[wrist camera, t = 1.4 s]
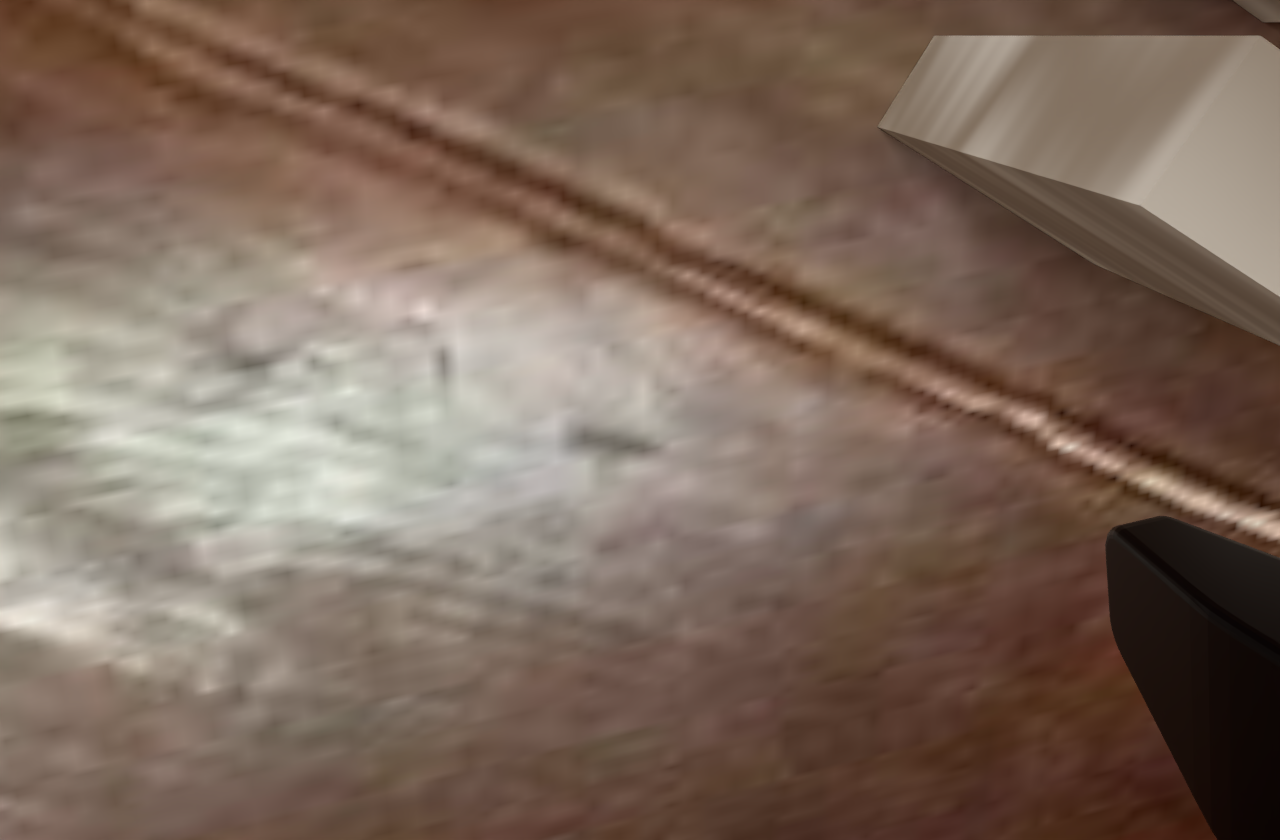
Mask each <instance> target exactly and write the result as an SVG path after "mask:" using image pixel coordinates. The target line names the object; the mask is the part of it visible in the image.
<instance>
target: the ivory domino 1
mask: <svg viewBox="0 0 1280 840" xmlns="http://www.w3.org/2000/svg"><path fill="white" fill-rule="evenodd" d="M878 128H880V129H881V130H883V131H885V132H886V133H888V134H889V135H891V136H893V137H894V138H896V139H897V140H899V141H900V142H902V143H904V144H905V145H907V146H908V147H910V148H911V149H913V150H915V151H916V152H918V153H919V154H921V155H922V156H924V157H926V158H927V159H929V160H930V161H932V162H934V163H935V164H937V165H938V166H940V167H941V168H943V169H945V170H946V171H948V172H949V173H951V174H952V175H954V176H956V177H957V178H959V179H960V180H962V181H964V182H965V183H967V184H968V185H970V186H971V187H973V188H975V189H976V190H978V191H979V192H981V193H982V194H984V195H986V196H987V197H989V198H990V199H992V200H993V201H995V202H997V203H998V204H1000V205H1001V206H1003V207H1005V208H1006V209H1008V210H1009V211H1011V212H1012V213H1014V214H1016V215H1017V216H1019V217H1020V218H1022V219H1023V220H1025V221H1027V222H1028V223H1030V224H1031V225H1033V226H1034V227H1036V228H1038V229H1039V230H1041V231H1042V232H1044V233H1046V234H1047V235H1049V236H1050V237H1052V238H1053V239H1055V240H1057V241H1058V242H1060V243H1061V244H1063V245H1064V246H1066V247H1068V248H1069V249H1071V250H1072V251H1074V252H1076V253H1077V254H1079V255H1080V256H1082V257H1083V258H1085V259H1087V260H1088V261H1090V262H1091V263H1093V264H1095V265H1097V266H1099V267H1102V268H1104V269H1106V270H1109V271H1111V272H1113V273H1115V274H1118V275H1120V276H1122V277H1125V278H1127V279H1129V280H1131V281H1134V282H1136V283H1138V284H1140V285H1143V286H1145V287H1147V288H1150V289H1152V290H1154V291H1156V292H1159V293H1161V294H1163V295H1166V296H1168V297H1170V298H1172V299H1175V300H1177V301H1179V302H1182V303H1184V304H1186V305H1188V306H1191V307H1193V308H1195V309H1198V310H1200V311H1202V312H1204V313H1207V314H1209V315H1211V316H1213V317H1216V318H1218V319H1220V320H1223V321H1225V322H1227V323H1229V324H1232V325H1234V326H1236V327H1239V328H1241V329H1243V330H1245V331H1248V332H1250V333H1252V334H1255V335H1257V336H1259V337H1261V338H1264V339H1266V340H1268V341H1270V342H1273V343H1275V344H1277V345H1280V49H1278V48H1277V47H1276V46H1274V45H1273V44H1271V43H1270V42H1269V41H1267V40H1266V39H1264V38H1263V37H1262V36H934V37H933V39H932V40H931V42H930V44H929V45H928V47H927V48H926V50H925V52H924V53H923V55H922V56H921V58H920V60H919V61H918V63H917V64H916V66H915V68H914V69H913V71H912V72H911V74H910V76H909V77H908V79H907V80H906V82H905V84H904V85H903V87H902V88H901V90H900V92H899V93H898V95H897V96H896V98H895V100H894V101H893V103H892V104H891V106H890V107H889V109H888V111H887V112H886V114H885V115H884V117H883V119H882V120H881V122H880V123H879V125H878Z"/></svg>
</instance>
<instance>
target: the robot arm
mask: <svg viewBox="0 0 1280 840" xmlns="http://www.w3.org/2000/svg"><path fill="white" fill-rule="evenodd" d="M1106 565H1107V580H1108V596H1109V611H1110V622H1111V627H1112V631H1113V635H1114V638H1115V641H1116V644H1117V646H1118V649H1119V651H1120V653H1121V655H1122V657H1123V659H1124V661H1125V663H1126V665H1127V667H1128V669H1129V671H1130V673H1131V675H1132V677H1133V679H1134V681H1135V683H1136V685H1137V686H1138V688H1139V690H1140V692H1141V694H1142V696H1143V698H1144V700H1145V702H1146V704H1147V706H1148V708H1149V710H1150V712H1151V714H1152V716H1153V718H1154V720H1155V722H1156V724H1157V726H1158V728H1159V730H1160V732H1161V734H1162V736H1163V738H1164V740H1165V742H1166V743H1167V745H1168V747H1169V749H1170V751H1171V753H1172V755H1173V757H1174V759H1175V761H1176V763H1177V765H1178V767H1179V769H1180V771H1181V773H1182V775H1183V777H1184V779H1185V781H1186V783H1187V785H1188V787H1189V789H1190V791H1191V793H1192V795H1193V797H1194V799H1195V800H1196V802H1197V804H1198V806H1199V808H1200V810H1201V812H1202V813H1203V815H1204V817H1205V819H1206V821H1207V823H1208V825H1209V826H1210V828H1211V830H1212V832H1213V833H1214V835H1215V837H1216V838H1217V840H1280V558H1279V557H1276V556H1273V555H1271V554H1268V553H1265V552H1263V551H1260V550H1257V549H1255V548H1252V547H1249V546H1247V545H1244V544H1241V543H1239V542H1236V541H1233V540H1231V539H1228V538H1225V537H1223V536H1220V535H1217V534H1214V533H1212V532H1209V531H1206V530H1204V529H1201V528H1198V527H1196V526H1193V525H1190V524H1188V523H1185V522H1182V521H1180V520H1177V519H1174V518H1171V517H1167V516H1158V517H1153V518H1149V519H1145V520H1140V521H1136V522H1132V523H1127V524H1123V525H1119V526H1116V527H1113V528H1112V530H1111V531H1110V532H1109V533H1108V535H1107V539H1106Z"/></svg>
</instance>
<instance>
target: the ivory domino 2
mask: <svg viewBox="0 0 1280 840" xmlns="http://www.w3.org/2000/svg"><path fill="white" fill-rule="evenodd" d="M1233 1H1234V2H1236V3H1237V4H1238V5H1240V6H1241V7H1243V8H1244V9H1245V10H1247V11H1248V12H1249V13H1251V14H1252V15H1254V16H1255V17H1256V18H1258V19H1259V20H1261V21H1262V22H1280V0H1233Z"/></svg>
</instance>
